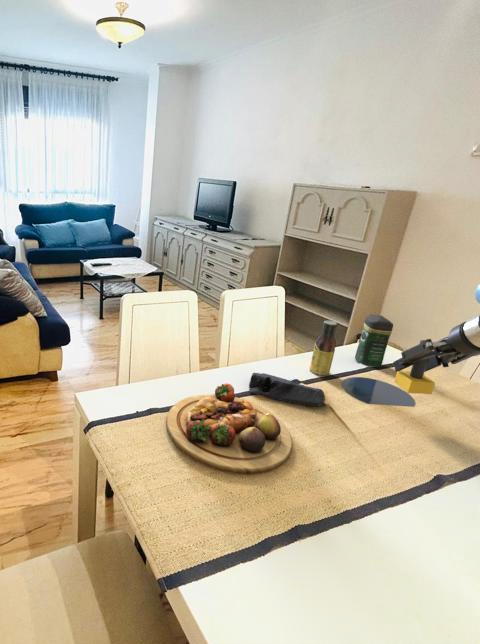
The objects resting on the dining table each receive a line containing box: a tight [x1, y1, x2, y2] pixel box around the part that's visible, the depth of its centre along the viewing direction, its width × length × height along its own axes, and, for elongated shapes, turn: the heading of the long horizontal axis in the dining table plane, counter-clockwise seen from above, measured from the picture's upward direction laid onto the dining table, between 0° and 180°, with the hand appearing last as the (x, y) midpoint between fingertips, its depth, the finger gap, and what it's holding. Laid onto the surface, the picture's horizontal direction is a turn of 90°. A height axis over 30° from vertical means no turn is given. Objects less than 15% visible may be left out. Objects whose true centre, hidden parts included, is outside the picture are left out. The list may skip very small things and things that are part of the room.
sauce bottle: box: [309, 320, 338, 377], centre depth 131 cm, size 6×6×20 cm
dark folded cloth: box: [248, 372, 326, 407], centre depth 121 cm, size 15×22×5 cm
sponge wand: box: [393, 339, 436, 395], centre depth 102 cm, size 6×6×14 cm
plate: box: [340, 376, 416, 408], centre depth 122 cm, size 20×20×1 cm
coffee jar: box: [354, 313, 394, 368], centre depth 141 cm, size 10×8×19 cm
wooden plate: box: [165, 382, 293, 475], centre depth 100 cm, size 32×32×8 cm
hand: (408, 367), depth 106 cm, fingers closed on sponge wand, 6 cm apart
